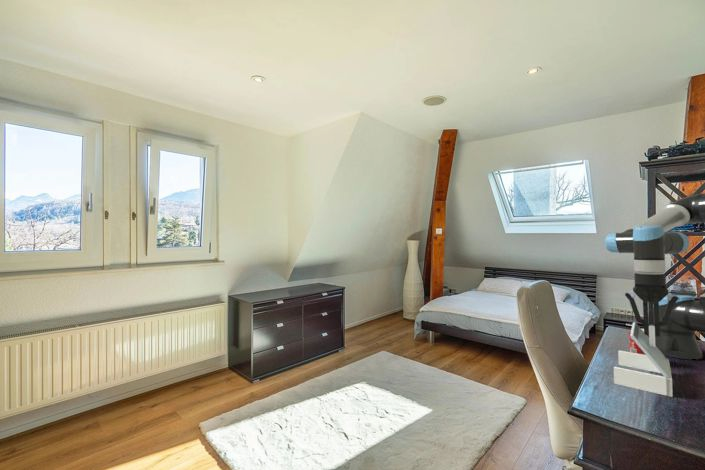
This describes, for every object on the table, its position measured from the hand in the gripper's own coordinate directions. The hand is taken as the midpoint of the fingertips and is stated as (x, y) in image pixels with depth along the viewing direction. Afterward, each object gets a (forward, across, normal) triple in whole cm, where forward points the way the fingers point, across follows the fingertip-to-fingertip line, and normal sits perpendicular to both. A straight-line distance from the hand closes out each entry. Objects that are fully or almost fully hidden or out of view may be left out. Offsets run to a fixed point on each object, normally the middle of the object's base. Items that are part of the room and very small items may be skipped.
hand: (652, 345), depth 104 cm
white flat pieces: (+11, +3, 0) cm, 12 cm away
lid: (+1, +1, 0) cm, 1 cm away
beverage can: (+12, +3, -19) cm, 22 cm away
